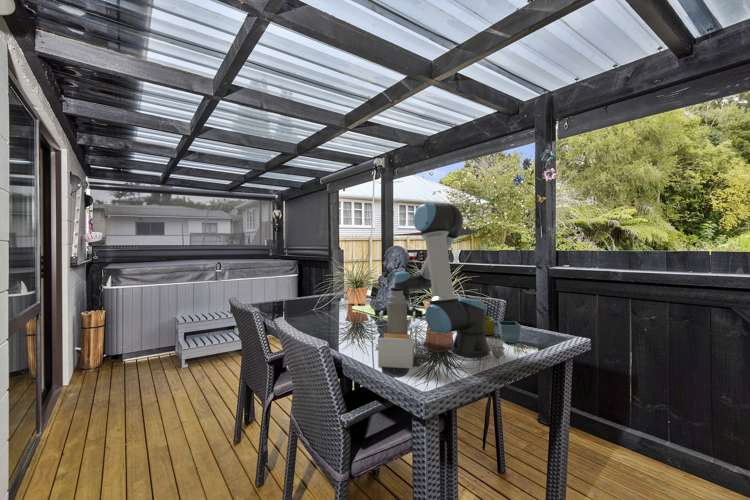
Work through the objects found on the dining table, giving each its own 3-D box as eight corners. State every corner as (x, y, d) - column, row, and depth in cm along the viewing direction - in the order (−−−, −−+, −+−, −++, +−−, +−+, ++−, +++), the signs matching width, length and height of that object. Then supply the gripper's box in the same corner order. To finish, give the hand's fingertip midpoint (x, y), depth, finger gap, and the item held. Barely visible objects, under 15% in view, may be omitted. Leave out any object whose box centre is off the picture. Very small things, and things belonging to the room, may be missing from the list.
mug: (493, 327, 187) (490, 311, 184) (498, 338, 177) (495, 321, 174) (470, 331, 189) (467, 315, 186) (473, 342, 179) (470, 325, 176)
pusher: (384, 358, 141) (384, 333, 140) (409, 359, 139) (409, 334, 139) (383, 361, 137) (382, 335, 137) (408, 362, 136) (408, 336, 135)
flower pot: (497, 339, 172) (497, 320, 172) (516, 339, 171) (516, 321, 171) (501, 344, 163) (501, 325, 163) (520, 344, 162) (521, 325, 162)
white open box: (383, 352, 152) (383, 327, 151) (414, 354, 150) (414, 328, 150) (378, 366, 135) (378, 338, 135) (412, 368, 133) (412, 339, 133)
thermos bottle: (402, 352, 149) (402, 286, 148) (410, 358, 141) (409, 288, 141) (385, 354, 147) (384, 287, 146) (391, 360, 139) (390, 289, 138)
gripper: (427, 316, 162) (428, 327, 141) (374, 315, 165) (366, 326, 144) (427, 300, 161) (428, 309, 140) (374, 299, 165) (366, 307, 144)
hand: (396, 317), depth 142 cm, fingers open, 13 cm apart
